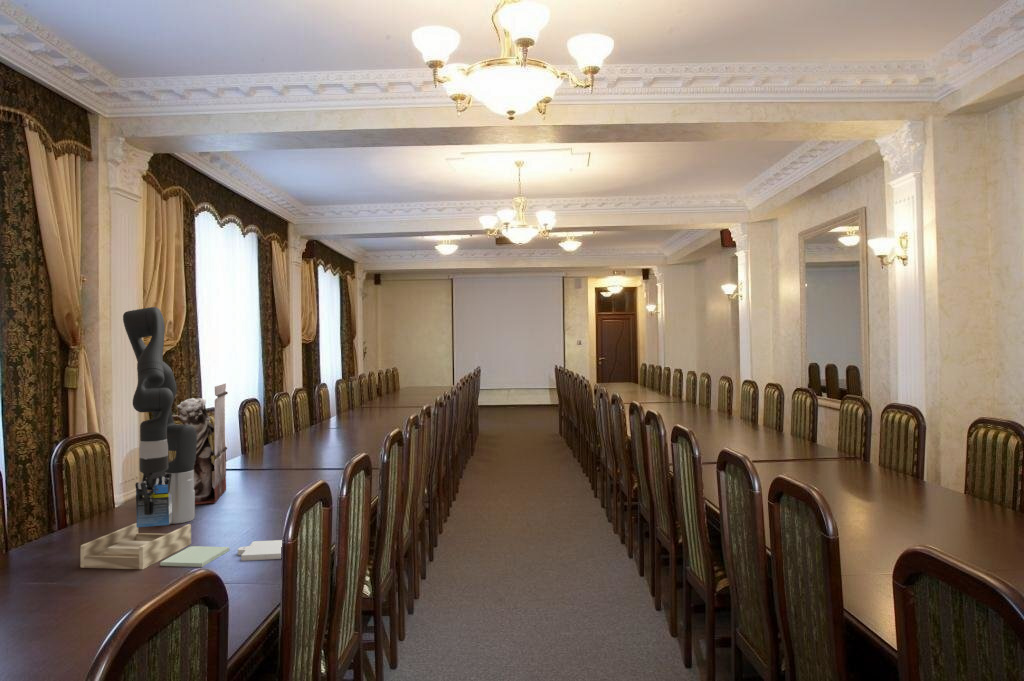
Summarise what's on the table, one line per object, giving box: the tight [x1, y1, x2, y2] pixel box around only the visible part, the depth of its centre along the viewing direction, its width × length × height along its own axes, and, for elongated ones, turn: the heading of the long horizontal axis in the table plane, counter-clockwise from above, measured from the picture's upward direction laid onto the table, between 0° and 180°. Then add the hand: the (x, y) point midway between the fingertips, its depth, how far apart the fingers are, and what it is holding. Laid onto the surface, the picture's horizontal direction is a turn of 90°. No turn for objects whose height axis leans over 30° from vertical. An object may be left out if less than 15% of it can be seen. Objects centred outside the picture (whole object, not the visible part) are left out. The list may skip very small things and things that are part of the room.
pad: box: [159, 545, 230, 568], centre depth 181 cm, size 14×12×1 cm
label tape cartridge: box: [135, 484, 172, 529], centre depth 190 cm, size 9×4×12 cm, turn 104°
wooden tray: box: [79, 522, 192, 570], centre depth 184 cm, size 22×18×6 cm
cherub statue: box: [176, 383, 229, 506], centre depth 253 cm, size 23×19×45 cm
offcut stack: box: [103, 541, 151, 557], centre depth 180 cm, size 7×12×4 cm, turn 85°
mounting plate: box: [237, 539, 283, 562], centre depth 186 cm, size 18×13×2 cm
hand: (154, 511), depth 190 cm, fingers closed on label tape cartridge, 4 cm apart
